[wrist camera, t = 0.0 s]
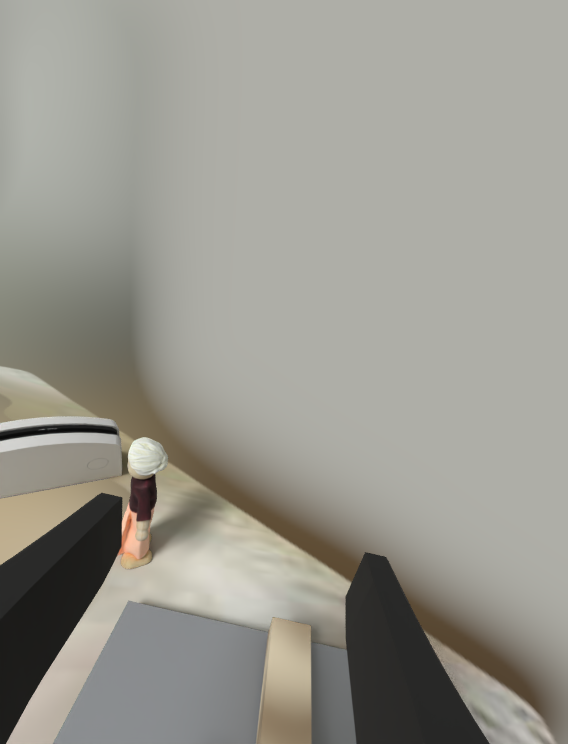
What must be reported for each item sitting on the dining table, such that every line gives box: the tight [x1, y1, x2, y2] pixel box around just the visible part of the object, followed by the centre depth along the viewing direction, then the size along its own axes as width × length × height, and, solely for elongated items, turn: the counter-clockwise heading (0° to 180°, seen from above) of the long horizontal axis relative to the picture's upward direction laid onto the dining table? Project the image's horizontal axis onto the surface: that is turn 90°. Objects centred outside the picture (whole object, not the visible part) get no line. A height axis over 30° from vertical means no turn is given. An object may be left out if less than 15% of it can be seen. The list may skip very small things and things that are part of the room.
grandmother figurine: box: [118, 438, 168, 569], centre depth 31 cm, size 8×4×13 cm, turn 30°
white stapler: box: [0, 417, 122, 499], centre depth 37 cm, size 17×5×10 cm, turn 124°
